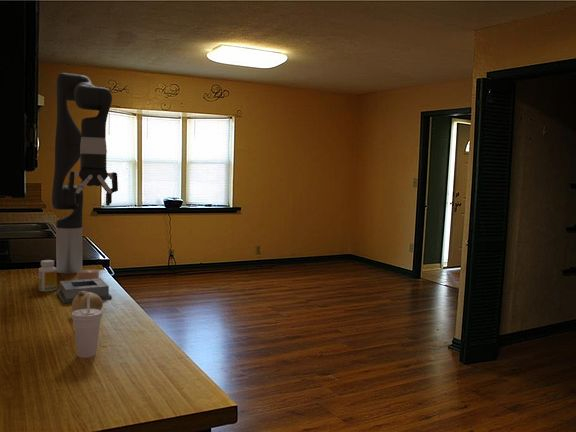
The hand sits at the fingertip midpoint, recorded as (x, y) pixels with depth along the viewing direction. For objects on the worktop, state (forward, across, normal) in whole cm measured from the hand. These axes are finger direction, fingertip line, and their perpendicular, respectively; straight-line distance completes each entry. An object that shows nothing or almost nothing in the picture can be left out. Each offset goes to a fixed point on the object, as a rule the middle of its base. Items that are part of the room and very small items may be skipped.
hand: (93, 205), depth 162 cm
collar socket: (+29, +2, -4) cm, 29 cm away
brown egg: (+29, -2, -19) cm, 35 cm away
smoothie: (+29, +11, +50) cm, 59 cm away
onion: (+29, +5, +18) cm, 35 cm away
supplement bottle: (+29, +11, -17) cm, 36 cm away
